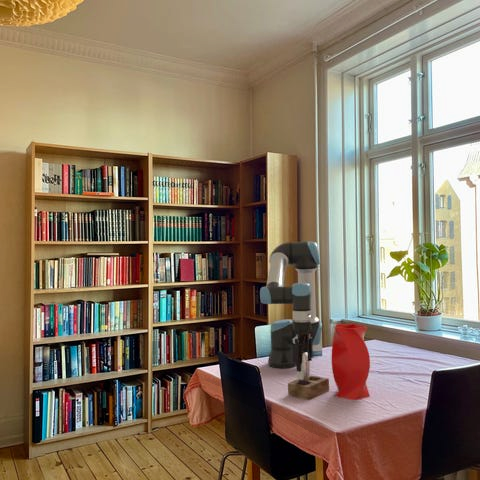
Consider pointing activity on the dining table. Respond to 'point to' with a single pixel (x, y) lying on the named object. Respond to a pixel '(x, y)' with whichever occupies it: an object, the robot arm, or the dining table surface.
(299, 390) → the block
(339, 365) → the vase
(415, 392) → the dining table surface
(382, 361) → the dining table surface
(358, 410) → the dining table surface
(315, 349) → the ink box
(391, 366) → the dining table surface
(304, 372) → the pin
